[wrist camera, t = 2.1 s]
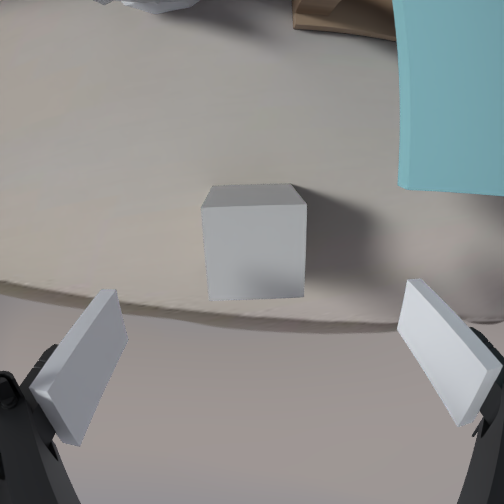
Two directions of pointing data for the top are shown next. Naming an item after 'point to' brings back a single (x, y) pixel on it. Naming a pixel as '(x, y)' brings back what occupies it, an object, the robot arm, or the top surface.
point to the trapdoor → (451, 95)
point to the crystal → (154, 4)
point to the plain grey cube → (254, 241)
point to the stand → (346, 17)
